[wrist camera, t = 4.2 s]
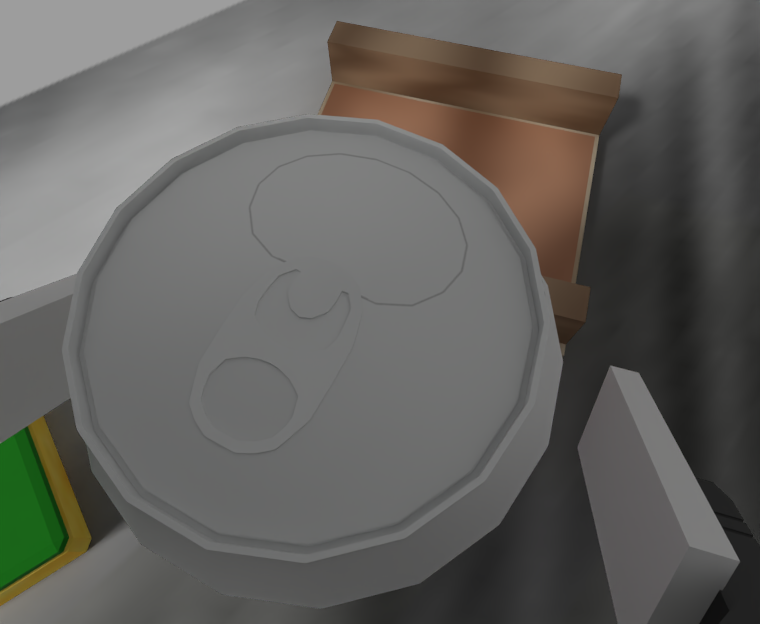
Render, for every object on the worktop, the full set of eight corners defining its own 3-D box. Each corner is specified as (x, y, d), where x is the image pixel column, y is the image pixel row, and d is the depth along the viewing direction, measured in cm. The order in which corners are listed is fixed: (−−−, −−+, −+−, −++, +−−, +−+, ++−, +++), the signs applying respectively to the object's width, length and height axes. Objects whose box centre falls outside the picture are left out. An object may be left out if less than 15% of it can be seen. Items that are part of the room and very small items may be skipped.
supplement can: (321, 329, 24) (226, 33, 10) (493, 412, 22) (663, 194, 8) (219, 501, 21) (-112, 418, 7) (408, 610, 19) (453, 777, 5)
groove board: (254, 285, 25) (233, 245, 21) (345, 72, 30) (339, 14, 27) (555, 364, 23) (583, 334, 19) (595, 123, 28) (622, 67, 25)
